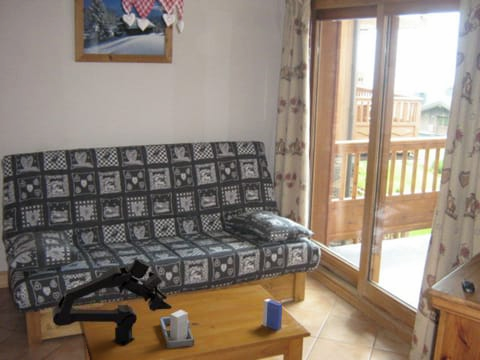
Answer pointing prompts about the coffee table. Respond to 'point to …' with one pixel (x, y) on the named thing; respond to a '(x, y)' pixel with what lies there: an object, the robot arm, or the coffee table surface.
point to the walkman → (272, 314)
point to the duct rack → (177, 343)
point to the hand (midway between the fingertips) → (168, 302)
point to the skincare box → (178, 325)
